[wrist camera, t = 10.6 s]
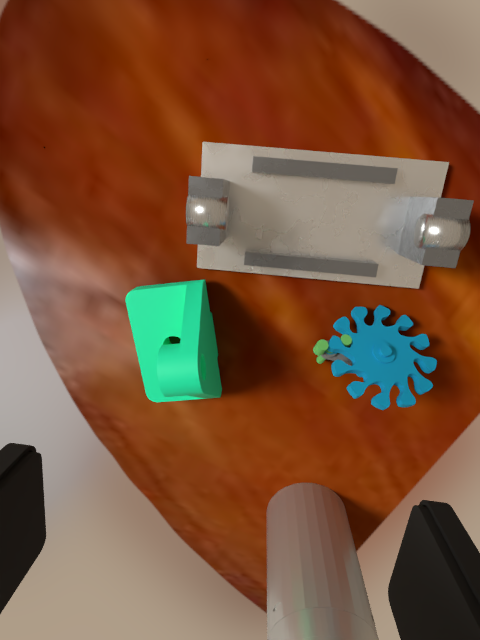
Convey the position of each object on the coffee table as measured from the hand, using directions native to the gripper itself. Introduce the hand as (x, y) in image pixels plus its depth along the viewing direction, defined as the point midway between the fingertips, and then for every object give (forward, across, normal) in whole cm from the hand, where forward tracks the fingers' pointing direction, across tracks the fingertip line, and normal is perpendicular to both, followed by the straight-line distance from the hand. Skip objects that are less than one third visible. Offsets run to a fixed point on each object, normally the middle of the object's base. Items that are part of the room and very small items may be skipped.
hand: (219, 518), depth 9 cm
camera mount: (+30, +7, +7) cm, 31 cm away
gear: (+30, -12, +2) cm, 33 cm away
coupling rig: (+29, -5, -7) cm, 30 cm away
